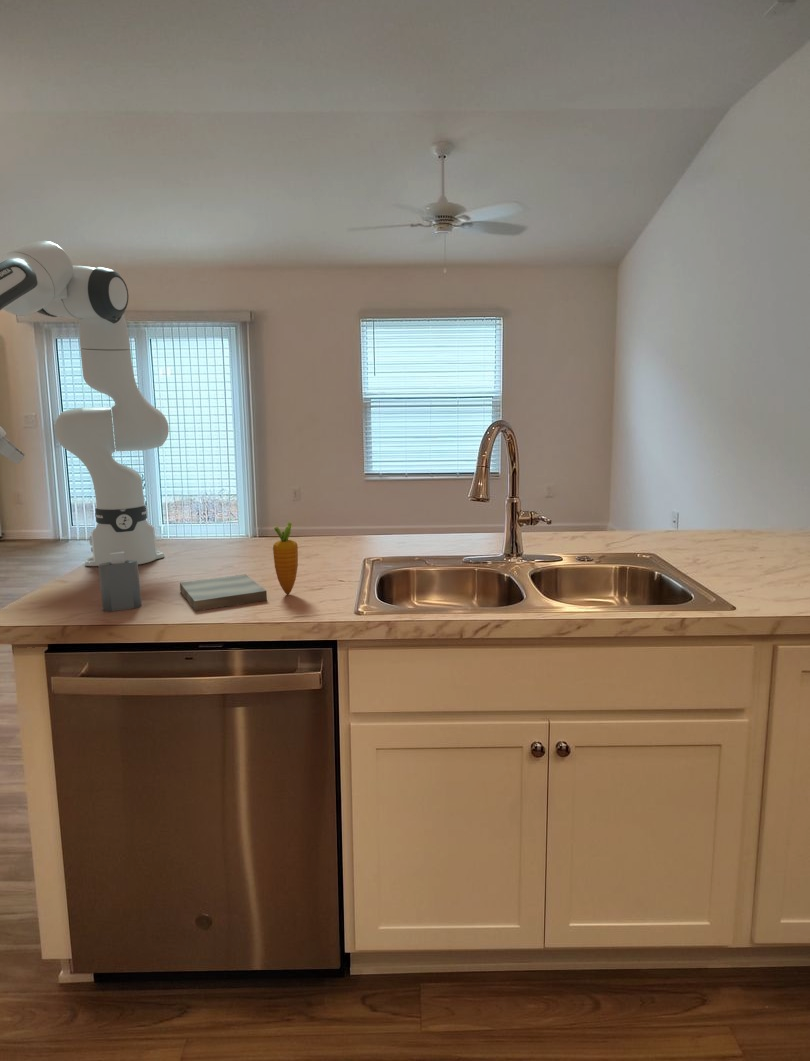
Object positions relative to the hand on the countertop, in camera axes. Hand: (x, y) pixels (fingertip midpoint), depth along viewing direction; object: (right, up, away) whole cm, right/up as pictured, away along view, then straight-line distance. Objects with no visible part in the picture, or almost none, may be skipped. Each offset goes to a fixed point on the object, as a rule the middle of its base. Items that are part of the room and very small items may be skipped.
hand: (21, 459), depth 119 cm
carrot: (+44, -26, +19) cm, 55 cm away
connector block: (+13, -28, +12) cm, 33 cm away
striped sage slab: (+31, -26, +19) cm, 44 cm away
